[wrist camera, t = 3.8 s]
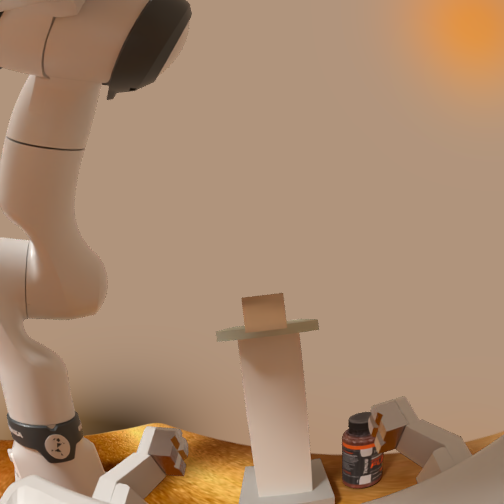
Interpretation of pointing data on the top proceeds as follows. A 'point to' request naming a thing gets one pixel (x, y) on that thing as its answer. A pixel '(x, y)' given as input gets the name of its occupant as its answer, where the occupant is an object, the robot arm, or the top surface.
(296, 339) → the stand
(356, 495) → the top surface
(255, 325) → the baton
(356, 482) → the supplement bottle
